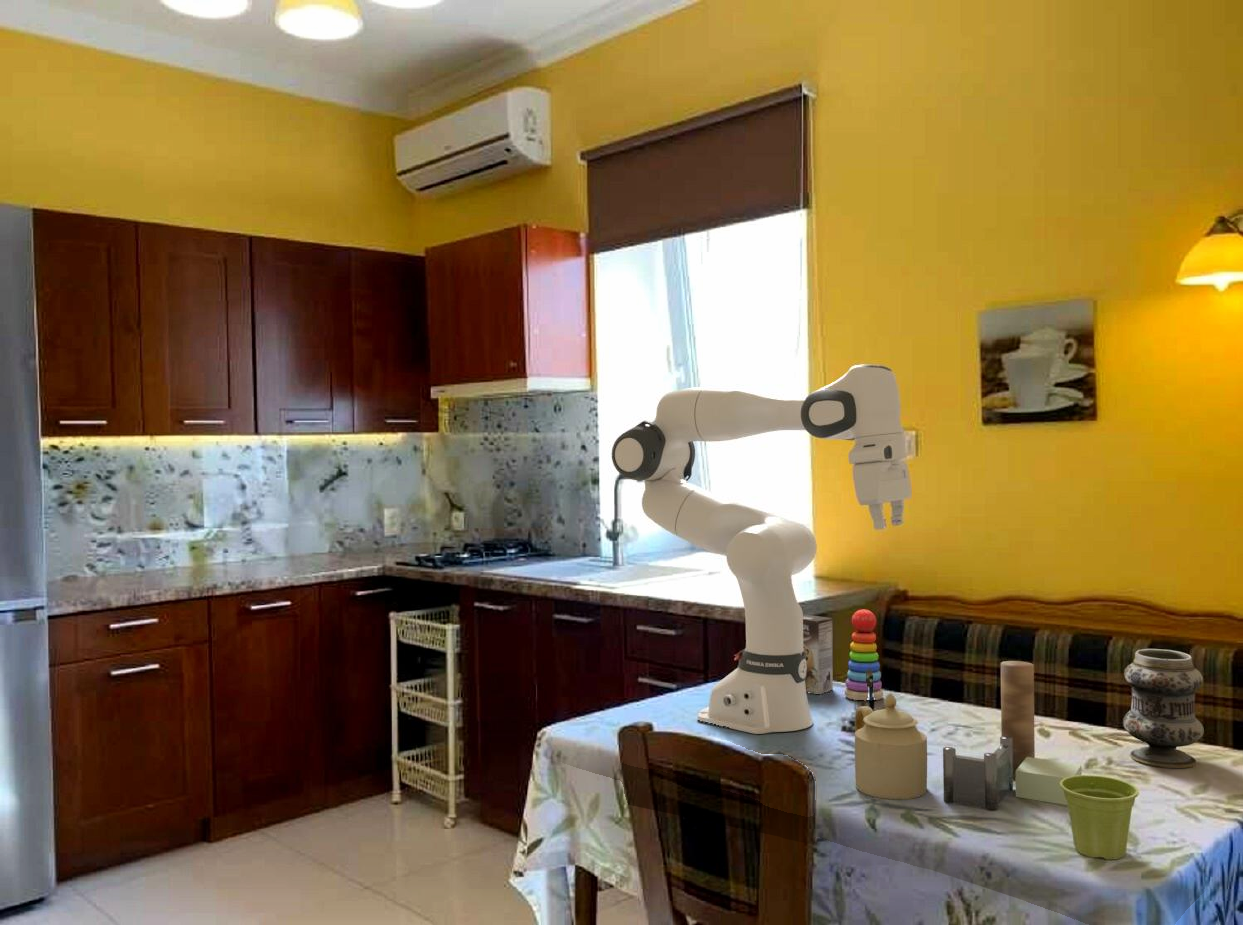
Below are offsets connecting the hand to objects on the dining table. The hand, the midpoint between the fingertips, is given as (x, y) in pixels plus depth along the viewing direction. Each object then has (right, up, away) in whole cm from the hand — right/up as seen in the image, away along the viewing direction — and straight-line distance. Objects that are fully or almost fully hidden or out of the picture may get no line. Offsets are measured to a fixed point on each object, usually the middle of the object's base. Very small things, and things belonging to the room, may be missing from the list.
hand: (889, 527), depth 187 cm
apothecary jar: (+43, -39, -14) cm, 59 cm away
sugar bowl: (-8, -40, -24) cm, 47 cm away
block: (+17, -39, -29) cm, 52 cm away
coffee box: (-7, -39, +40) cm, 56 cm away
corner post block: (+6, -39, -29) cm, 49 cm away
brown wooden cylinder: (+16, -39, -20) cm, 46 cm away
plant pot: (+14, -40, -51) cm, 66 cm away
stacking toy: (+3, -38, +32) cm, 50 cm away
